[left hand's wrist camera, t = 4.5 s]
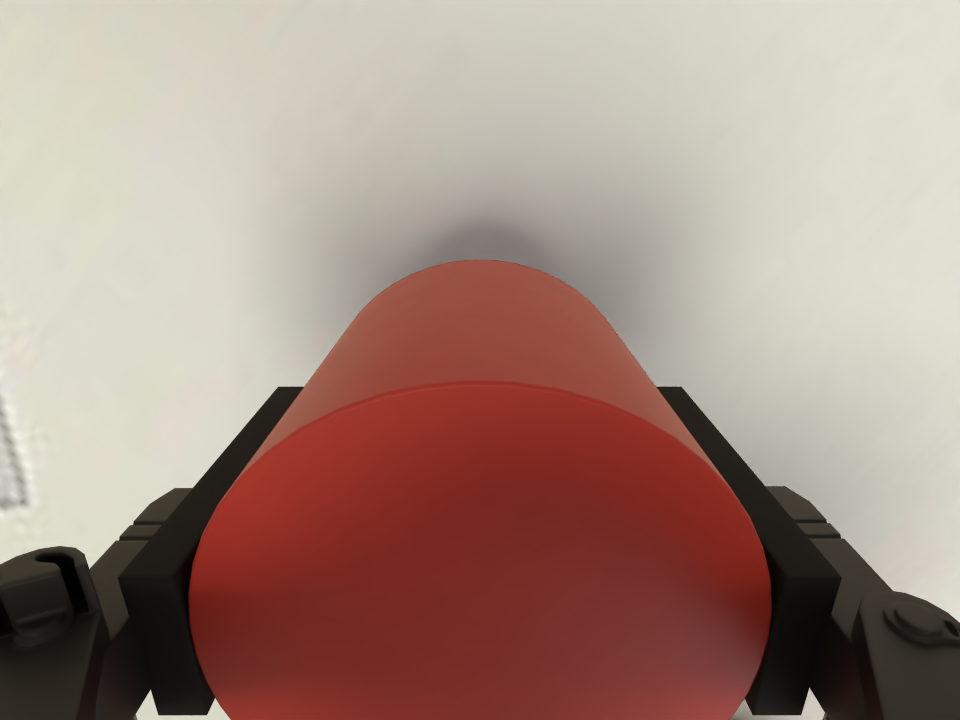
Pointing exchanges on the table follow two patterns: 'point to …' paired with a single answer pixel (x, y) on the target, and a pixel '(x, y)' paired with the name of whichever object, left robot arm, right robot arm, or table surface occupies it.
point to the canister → (480, 528)
